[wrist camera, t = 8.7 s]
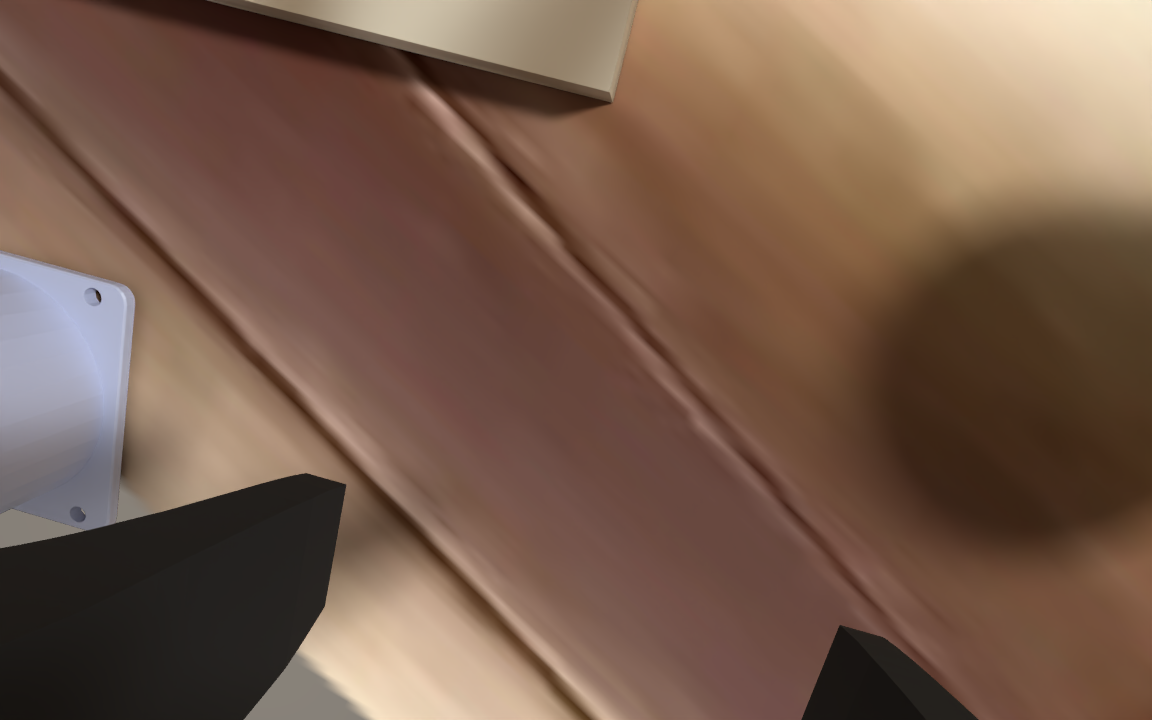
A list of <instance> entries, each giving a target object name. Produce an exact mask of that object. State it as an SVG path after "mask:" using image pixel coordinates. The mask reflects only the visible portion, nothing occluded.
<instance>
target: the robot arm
mask: <svg viewBox="0 0 1152 720" xmlns="http://www.w3.org/2000/svg"><path fill="white" fill-rule="evenodd" d="M96 290H98V291H99V293H100V294H101V299H102V300H101V303H100V302H99V301H98V299H97V298H96ZM134 311H135V299H134V296H133V294H132V292H131V290H130V289H129V288H128V287H127V286H125V285H123V284H121V283H118V282H114V281H110V280H107V279H103V278H99V277H96V276H92V275H89V274H85V273H81V272H78V271H74V270H70V269H67V268H63V267H59V266H56V265H52V264H48V263H45V262H41V261H38V260H34V259H30V258H27V257H23V256H19V255H16V254H12V253H8V252H5V251H1V250H0V514H1V513H3V512H5V511H7V510H10V509H15V510H19V511H22V512H26V513H29V514H32V515H36V516H39V517H43V518H46V519H50V520H53V521H56V522H60V523H63V524H67V525H71V526H73V527H77V528H80V529H84V530H87V531H83V532H79V533H75V534H70V535H66V536H61V537H57V538H52V539H47V540H42V541H37V542H32V543H27V544H22V545H17V546H12V547H6V548H0V720H243V719H245V717H246V716H247V715H248V714H249V712H250V711H251V710H252V709H253V708H254V706H255V705H256V704H257V703H258V701H259V700H260V699H261V698H262V696H263V695H264V694H265V693H266V692H267V690H268V689H269V688H270V687H271V685H272V684H273V683H274V682H275V681H276V679H277V678H278V677H279V676H280V674H281V673H282V672H283V671H284V669H285V668H286V666H287V665H288V663H289V662H290V660H291V659H292V657H293V656H294V654H295V653H296V651H297V650H298V648H299V647H300V645H301V644H302V642H303V641H304V639H305V637H306V636H307V634H308V633H309V631H310V629H311V628H312V626H313V624H314V623H315V621H316V620H317V618H318V616H319V615H320V613H321V612H322V610H323V608H324V607H325V601H326V596H327V590H328V585H329V579H330V573H331V568H332V562H333V557H334V551H335V545H336V540H337V534H338V529H339V523H340V517H341V512H342V506H343V501H344V495H345V489H346V484H342V483H339V482H335V481H332V480H328V479H325V478H321V477H318V476H314V475H311V474H307V473H305V474H299V475H294V476H289V477H285V478H281V479H277V480H273V481H270V482H266V483H262V484H259V485H255V486H252V487H248V488H245V489H241V490H238V491H234V492H231V493H227V494H224V495H220V496H217V497H213V498H210V499H206V500H203V501H199V502H196V503H192V504H189V505H185V506H181V507H178V508H174V509H171V510H167V511H163V512H159V513H155V514H151V515H147V516H143V517H140V518H135V519H131V520H127V521H123V522H119V523H115V522H116V519H117V509H118V497H119V486H120V474H121V462H122V451H123V439H124V427H125V416H126V404H127V392H128V381H129V369H130V357H131V346H132V334H133V322H134ZM81 509H83V511H84V512H85V514H84V513H83V512H82V511H81ZM802 720H978V719H977V718H976V717H975V716H974V715H973V714H972V713H971V712H970V711H969V710H967V709H966V708H965V707H964V706H963V705H962V704H961V703H960V702H959V701H958V700H956V699H955V698H954V697H953V696H952V695H951V694H950V693H949V692H948V691H947V690H946V689H944V688H943V687H942V686H941V685H940V684H939V683H938V682H937V681H936V680H934V679H933V678H932V677H931V676H930V675H929V674H928V673H927V672H925V671H924V670H923V669H922V668H921V667H920V666H919V665H917V664H916V663H915V662H914V661H913V660H912V659H910V658H909V657H908V656H907V655H906V654H904V653H903V652H902V651H901V650H900V649H898V648H897V647H896V646H894V645H893V644H892V643H890V642H889V641H888V640H886V639H885V638H883V637H880V636H877V635H873V634H870V633H866V632H863V631H859V630H856V629H852V628H849V627H845V626H841V625H840V626H839V628H838V631H837V633H836V636H835V638H834V641H833V643H832V645H831V648H830V650H829V653H828V655H827V658H826V660H825V663H824V665H823V668H822V670H821V673H820V675H819V678H818V680H817V683H816V685H815V688H814V690H813V692H812V695H811V697H810V700H809V702H808V705H807V707H806V710H805V712H804V715H803V717H802Z"/></svg>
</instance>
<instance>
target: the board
mask: <svg viewBox="0 0 1152 720" xmlns="http://www.w3.org/2000/svg"><path fill="white" fill-rule="evenodd" d="M207 1H211V2H215V3H219V4H223V5H227V6H231V7H235V8H239V9H243V10H247V11H251V12H255V13H259V14H263V15H267V16H271V17H275V18H279V19H283V20H287V21H291V22H295V23H298V24H302V25H306V26H310V27H314V28H318V29H322V30H326V31H330V32H334V33H338V34H342V35H346V36H350V37H354V38H358V39H362V40H366V41H370V42H374V43H378V44H382V45H386V46H390V47H394V48H398V49H401V50H405V51H409V52H413V53H417V54H421V55H425V56H429V57H433V58H437V59H441V60H445V61H449V62H453V63H457V64H461V65H465V66H469V67H473V68H477V69H481V70H485V71H489V72H493V73H497V74H501V75H504V76H508V77H512V78H516V79H520V80H524V81H528V82H532V83H536V84H540V85H544V86H548V87H552V88H556V89H560V90H564V91H568V92H572V93H576V94H580V95H584V96H588V97H592V98H596V99H600V100H604V101H608V102H611V103H613V100H614V96H615V92H616V88H617V84H618V80H619V76H620V72H621V68H622V64H623V60H624V56H625V52H626V48H627V44H628V40H629V36H630V32H631V28H632V24H633V20H634V16H635V12H636V8H637V3H638V0H207Z"/></svg>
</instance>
